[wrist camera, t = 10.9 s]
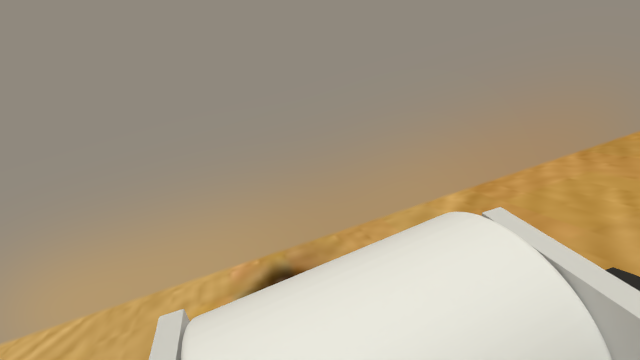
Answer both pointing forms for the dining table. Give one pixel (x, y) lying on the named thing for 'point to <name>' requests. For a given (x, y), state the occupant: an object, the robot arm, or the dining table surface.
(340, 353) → the mug
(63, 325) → the dining table surface
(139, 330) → the dining table surface
